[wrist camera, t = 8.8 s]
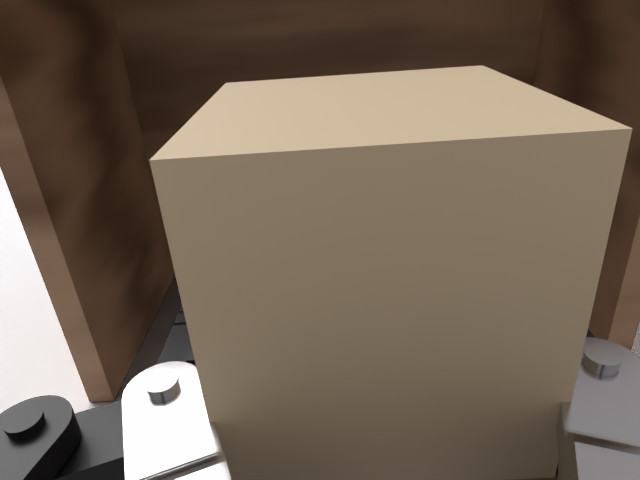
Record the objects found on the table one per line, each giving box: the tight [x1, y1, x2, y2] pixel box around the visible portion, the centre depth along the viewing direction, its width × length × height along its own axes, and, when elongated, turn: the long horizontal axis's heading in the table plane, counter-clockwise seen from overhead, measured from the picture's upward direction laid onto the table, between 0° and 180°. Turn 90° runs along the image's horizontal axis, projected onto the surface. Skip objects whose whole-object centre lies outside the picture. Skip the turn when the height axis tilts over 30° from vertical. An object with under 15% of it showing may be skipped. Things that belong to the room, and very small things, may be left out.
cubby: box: [0, 0, 640, 402], centre depth 21 cm, size 11×22×17 cm, turn 90°
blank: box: [149, 65, 633, 480], centre depth 10 cm, size 5×5×12 cm
